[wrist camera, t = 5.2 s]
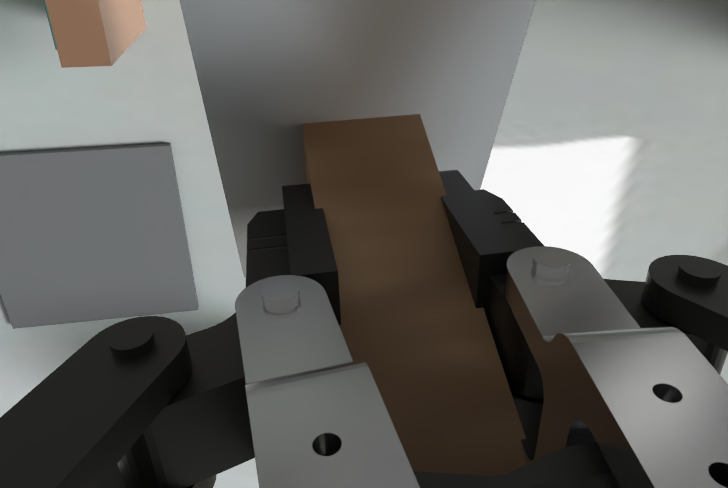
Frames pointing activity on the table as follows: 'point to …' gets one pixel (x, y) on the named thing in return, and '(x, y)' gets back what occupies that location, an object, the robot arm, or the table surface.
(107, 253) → the tool mat
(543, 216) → the table surface
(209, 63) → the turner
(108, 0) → the tile
